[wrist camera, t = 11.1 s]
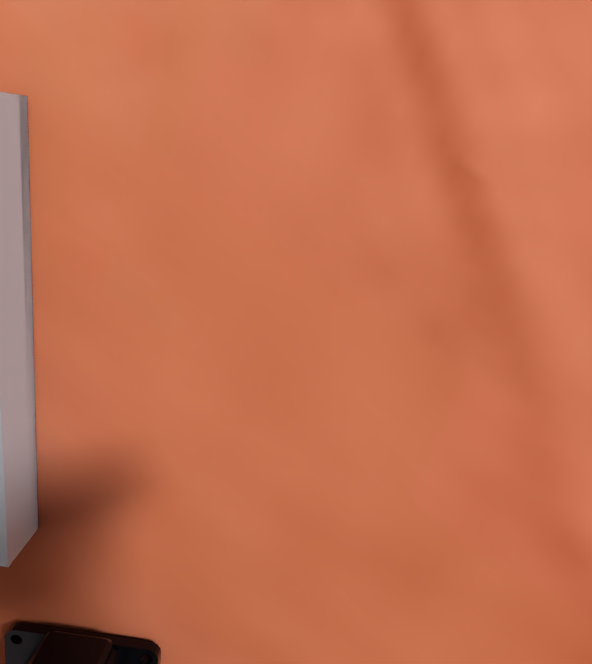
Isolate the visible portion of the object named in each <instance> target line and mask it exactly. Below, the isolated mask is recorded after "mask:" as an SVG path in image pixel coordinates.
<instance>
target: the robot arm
mask: <svg viewBox="0 0 592 664" xmlns="http://www.w3.org/2000/svg"><path fill="white" fill-rule="evenodd" d="M147 654H148V655H147ZM5 656H6V664H160V660H161V650H160V647H159V646H158V645H157V644H155V643H153V642H150V641H143V640H137V639H130V638H123V637H116V636H109V635H102V634H96V633H89V632H82V631H75V630H68V629H62V628H55V627H48V626H41V625H34V624H27V623H14V624H12V626H11V627H10V628H9V630H8V631H7V633H6V634H5Z"/></svg>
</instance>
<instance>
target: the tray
mask: <svg viewBox="0 0 592 664" xmlns="http://www.w3.org/2000/svg"><path fill="white" fill-rule="evenodd" d="M37 529H38V492H37V453H36V414H35V375H34V336H33V297H32V258H31V220H30V181H29V142H28V103H27V96H22V95H16V94H11V93H5V92H0V566H2V567H9V566H10V565H11V563H12V562H13V561H14V559H15V558H16V557H17V555H18V554H19V553H20V552H21V550H22V549H23V548H24V546H25V545H26V544H27V542H28V541H29V540H30V539H31V537H32V536H33V535H34V533H35V532H36V531H37Z"/></svg>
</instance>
